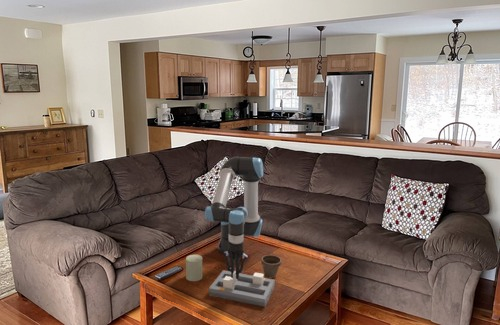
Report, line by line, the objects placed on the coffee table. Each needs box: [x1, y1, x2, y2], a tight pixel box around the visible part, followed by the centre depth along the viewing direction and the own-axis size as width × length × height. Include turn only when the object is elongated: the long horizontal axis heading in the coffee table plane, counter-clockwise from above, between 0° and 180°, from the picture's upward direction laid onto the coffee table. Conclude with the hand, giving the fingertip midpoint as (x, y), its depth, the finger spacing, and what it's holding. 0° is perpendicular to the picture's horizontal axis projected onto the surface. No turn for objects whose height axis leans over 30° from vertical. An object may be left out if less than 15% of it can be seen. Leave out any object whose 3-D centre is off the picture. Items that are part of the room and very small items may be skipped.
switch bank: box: [208, 269, 276, 308], centre depth 197 cm, size 20×30×4 cm, turn 73°
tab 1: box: [223, 276, 235, 290], centre depth 194 cm, size 4×5×6 cm
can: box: [185, 254, 203, 282], centre depth 208 cm, size 9×9×12 cm
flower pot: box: [260, 254, 282, 279], centre depth 213 cm, size 12×11×10 cm
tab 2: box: [252, 272, 265, 286], centre depth 198 cm, size 4×5×6 cm
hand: (234, 283), depth 193 cm, fingers closed
